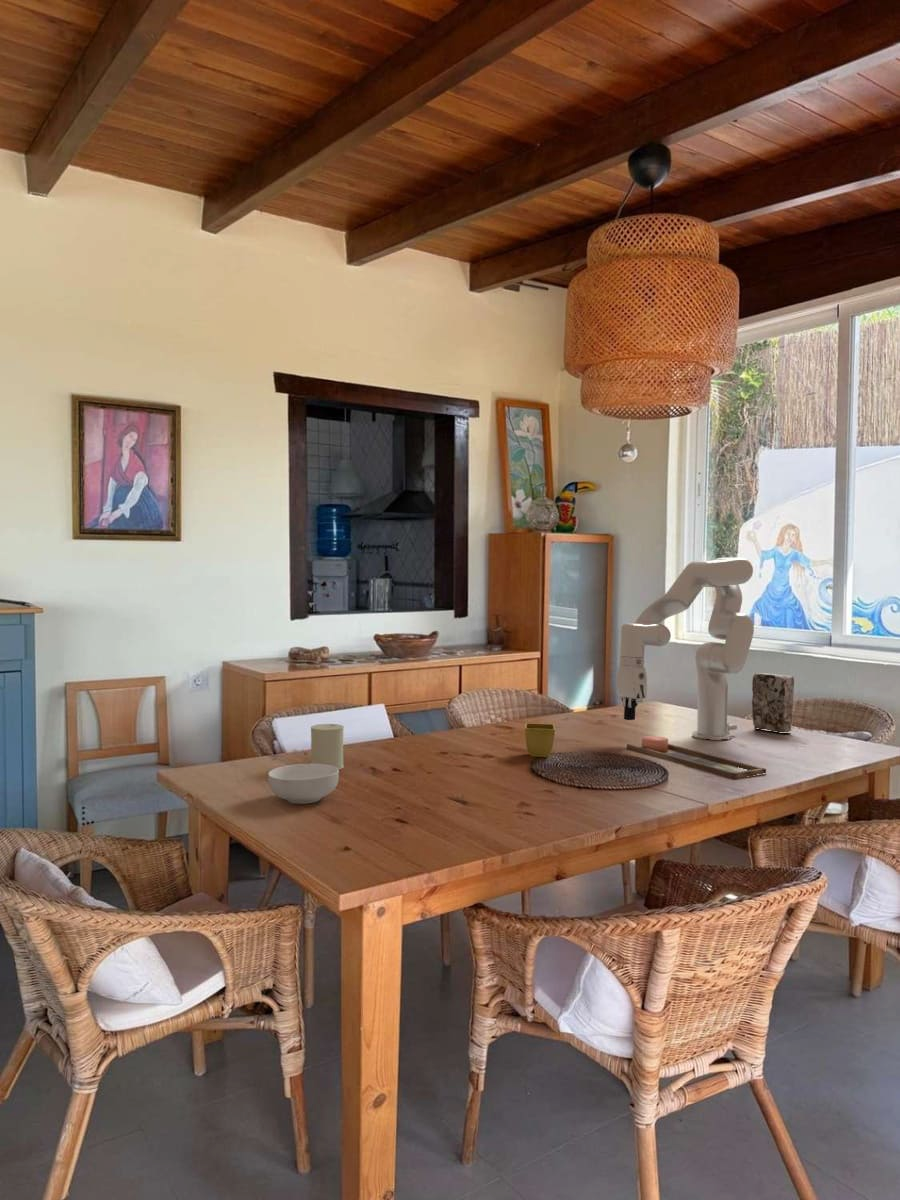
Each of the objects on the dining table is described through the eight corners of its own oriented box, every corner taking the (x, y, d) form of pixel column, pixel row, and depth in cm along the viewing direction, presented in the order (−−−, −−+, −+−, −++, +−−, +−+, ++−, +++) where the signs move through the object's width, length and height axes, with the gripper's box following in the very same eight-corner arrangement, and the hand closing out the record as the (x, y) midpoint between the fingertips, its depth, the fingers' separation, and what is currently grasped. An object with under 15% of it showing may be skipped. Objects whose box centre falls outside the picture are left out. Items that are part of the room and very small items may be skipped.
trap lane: (656, 745, 282) (656, 740, 282) (765, 774, 243) (766, 768, 243) (626, 748, 276) (626, 744, 276) (734, 779, 237) (734, 773, 237)
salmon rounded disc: (655, 746, 279) (655, 735, 279) (673, 751, 272) (673, 739, 272) (636, 748, 275) (636, 737, 275) (653, 753, 268) (654, 742, 268)
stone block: (794, 733, 304) (795, 675, 303) (784, 735, 299) (785, 676, 299) (758, 727, 314) (759, 671, 313) (748, 730, 309) (749, 673, 308)
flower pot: (554, 753, 269) (554, 723, 269) (554, 759, 260) (555, 729, 260) (525, 752, 270) (525, 723, 269) (524, 758, 261) (524, 728, 261)
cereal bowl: (307, 787, 226) (307, 759, 226) (353, 798, 215) (353, 769, 215) (253, 800, 213) (253, 771, 212) (299, 813, 202) (299, 782, 202)
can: (350, 766, 250) (350, 723, 249) (332, 772, 241) (332, 729, 241) (322, 762, 254) (322, 721, 253) (304, 769, 245) (304, 726, 245)
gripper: (656, 664, 277) (654, 722, 278) (625, 659, 290) (623, 715, 291) (638, 664, 274) (635, 723, 274) (607, 660, 287) (605, 716, 287)
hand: (629, 719), depth 283 cm, fingers closed
